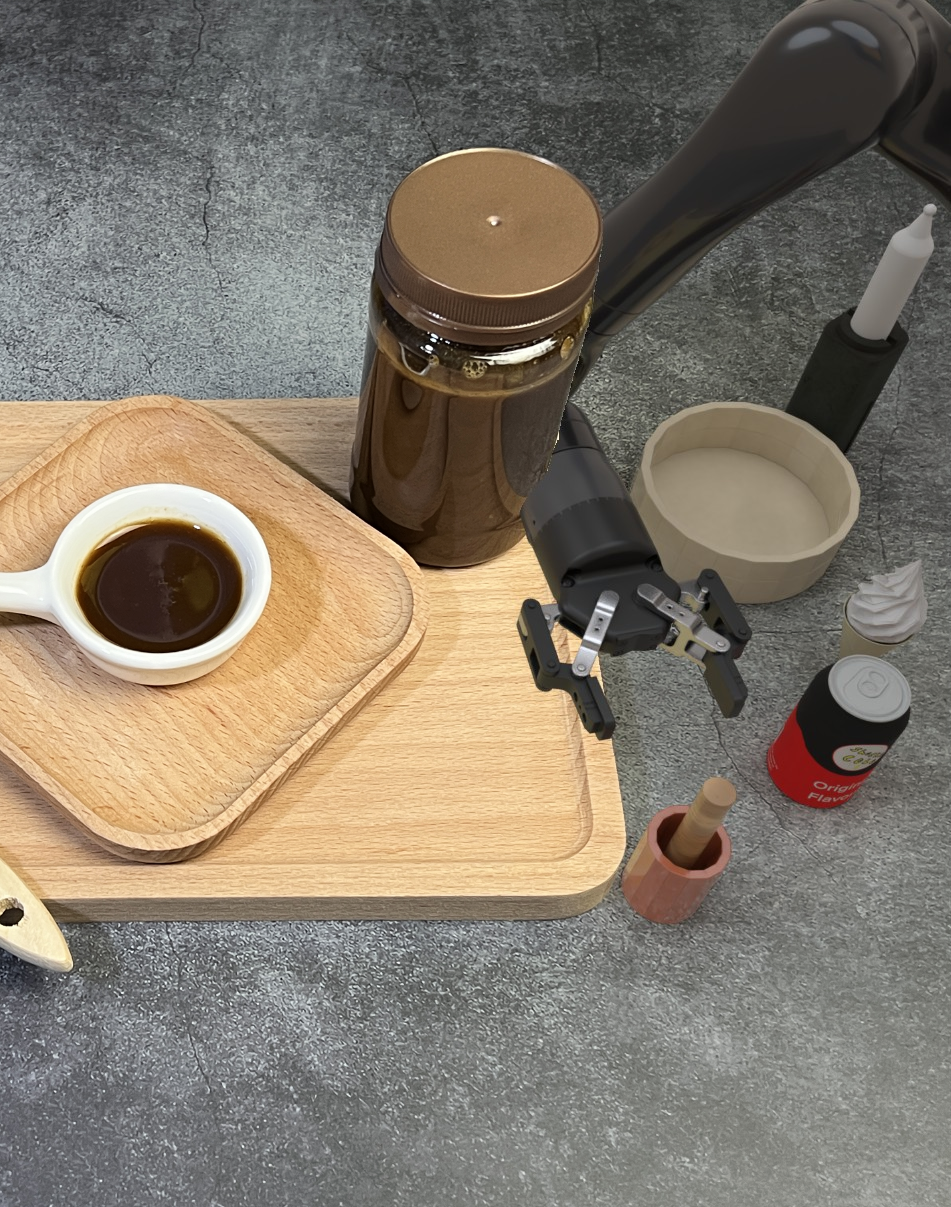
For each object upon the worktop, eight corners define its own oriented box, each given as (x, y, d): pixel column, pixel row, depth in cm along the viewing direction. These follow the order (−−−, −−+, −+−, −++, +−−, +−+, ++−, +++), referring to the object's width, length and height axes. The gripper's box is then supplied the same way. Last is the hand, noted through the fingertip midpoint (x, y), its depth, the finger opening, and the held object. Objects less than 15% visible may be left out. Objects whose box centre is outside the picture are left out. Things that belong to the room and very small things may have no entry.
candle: (807, 411, 123) (926, 172, 103) (855, 447, 120) (986, 209, 100) (766, 437, 121) (878, 200, 101) (814, 475, 119) (938, 238, 99)
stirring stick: (680, 884, 98) (742, 788, 86) (667, 906, 97) (728, 812, 86) (653, 868, 99) (711, 770, 87) (640, 890, 98) (697, 794, 86)
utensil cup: (710, 885, 99) (745, 833, 92) (675, 943, 96) (709, 894, 90) (640, 843, 101) (670, 790, 94) (605, 900, 98) (633, 849, 92)
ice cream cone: (830, 714, 106) (910, 596, 94) (791, 660, 109) (864, 539, 97) (889, 694, 107) (976, 575, 95) (849, 641, 110) (929, 519, 97)
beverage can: (745, 778, 103) (801, 690, 93) (789, 721, 106) (848, 630, 96) (827, 831, 101) (893, 746, 91) (869, 771, 103) (938, 683, 93)
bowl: (867, 505, 117) (893, 460, 113) (783, 638, 110) (807, 597, 106) (680, 418, 123) (698, 372, 119) (590, 539, 116) (605, 496, 112)
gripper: (494, 511, 97) (577, 711, 88) (695, 477, 98) (798, 673, 89) (478, 576, 103) (554, 770, 94) (667, 544, 104) (760, 733, 95)
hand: (672, 722), depth 92 cm, fingers open, 8 cm apart
